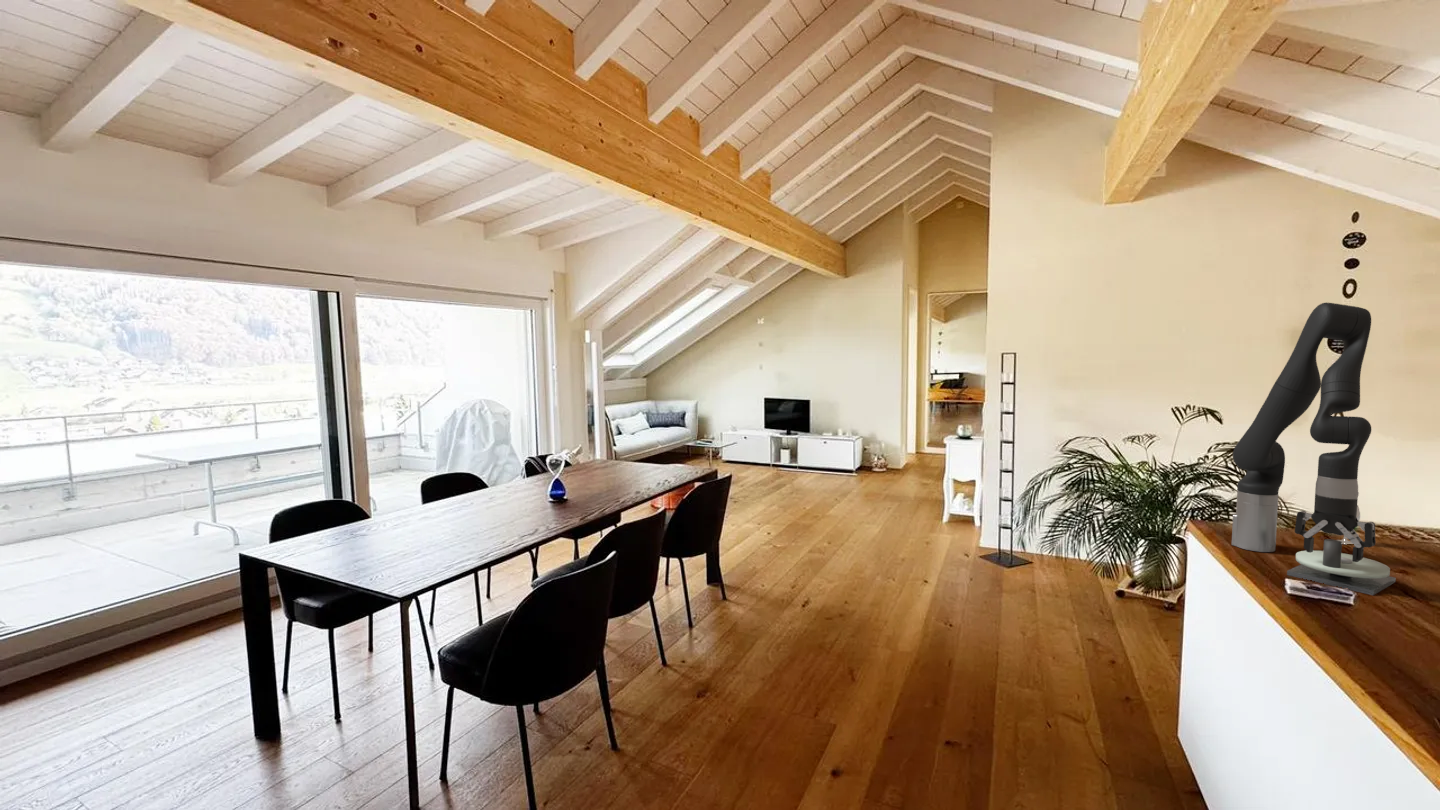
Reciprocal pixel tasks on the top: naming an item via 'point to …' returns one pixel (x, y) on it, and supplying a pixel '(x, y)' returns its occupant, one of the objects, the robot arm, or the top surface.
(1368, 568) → the handwheel
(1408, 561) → the top surface
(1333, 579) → the wheel stand
